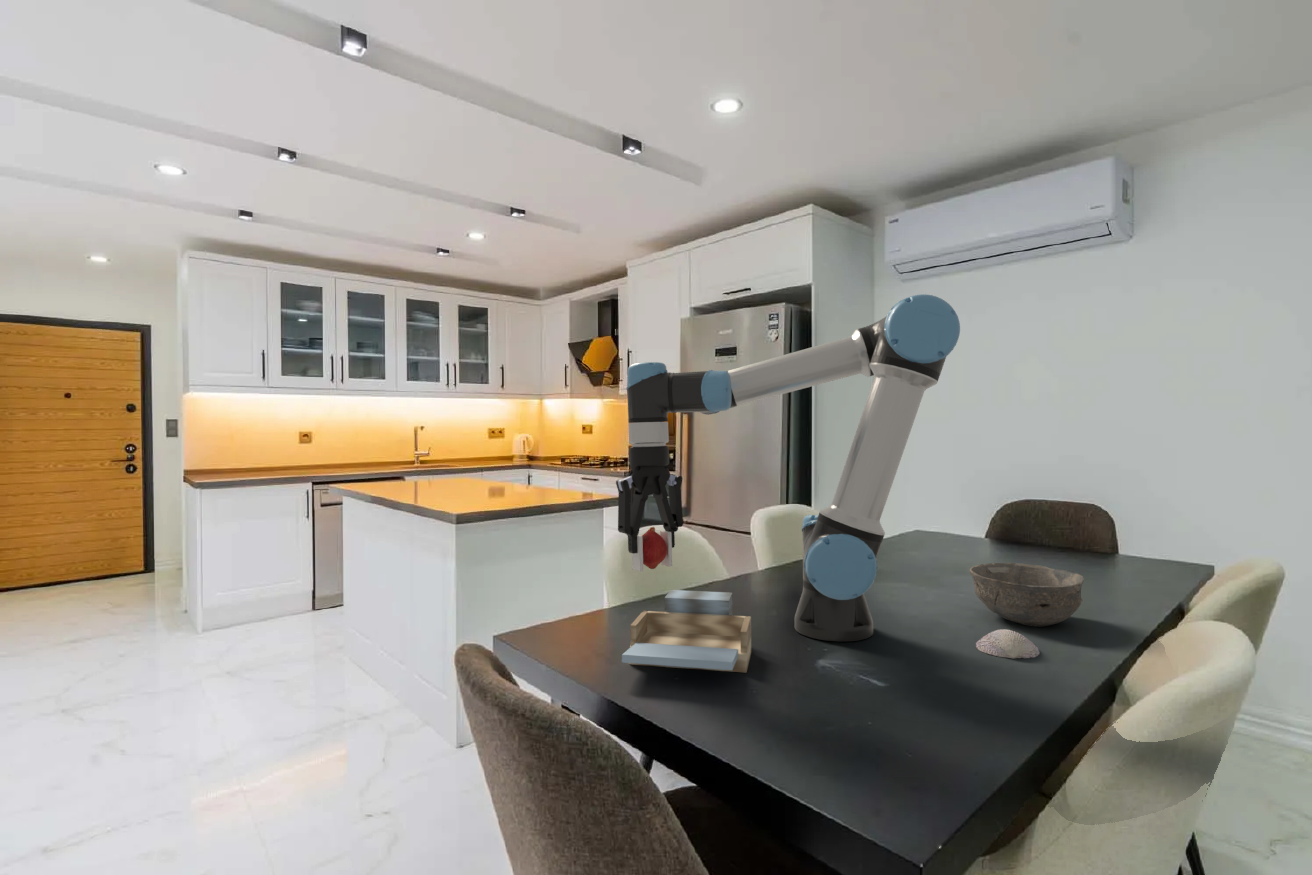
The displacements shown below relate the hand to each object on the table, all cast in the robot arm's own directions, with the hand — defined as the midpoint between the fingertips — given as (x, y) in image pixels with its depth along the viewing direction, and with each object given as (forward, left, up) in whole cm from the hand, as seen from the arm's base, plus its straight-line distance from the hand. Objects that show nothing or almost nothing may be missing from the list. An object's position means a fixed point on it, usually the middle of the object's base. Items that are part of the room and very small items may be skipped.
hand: (652, 567), depth 122 cm
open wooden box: (-8, +3, -14) cm, 17 cm away
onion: (0, 0, -1) cm, 1 cm away
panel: (-8, +12, -11) cm, 18 cm away
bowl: (-72, -28, -15) cm, 79 cm away
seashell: (-63, -8, -15) cm, 66 cm away
